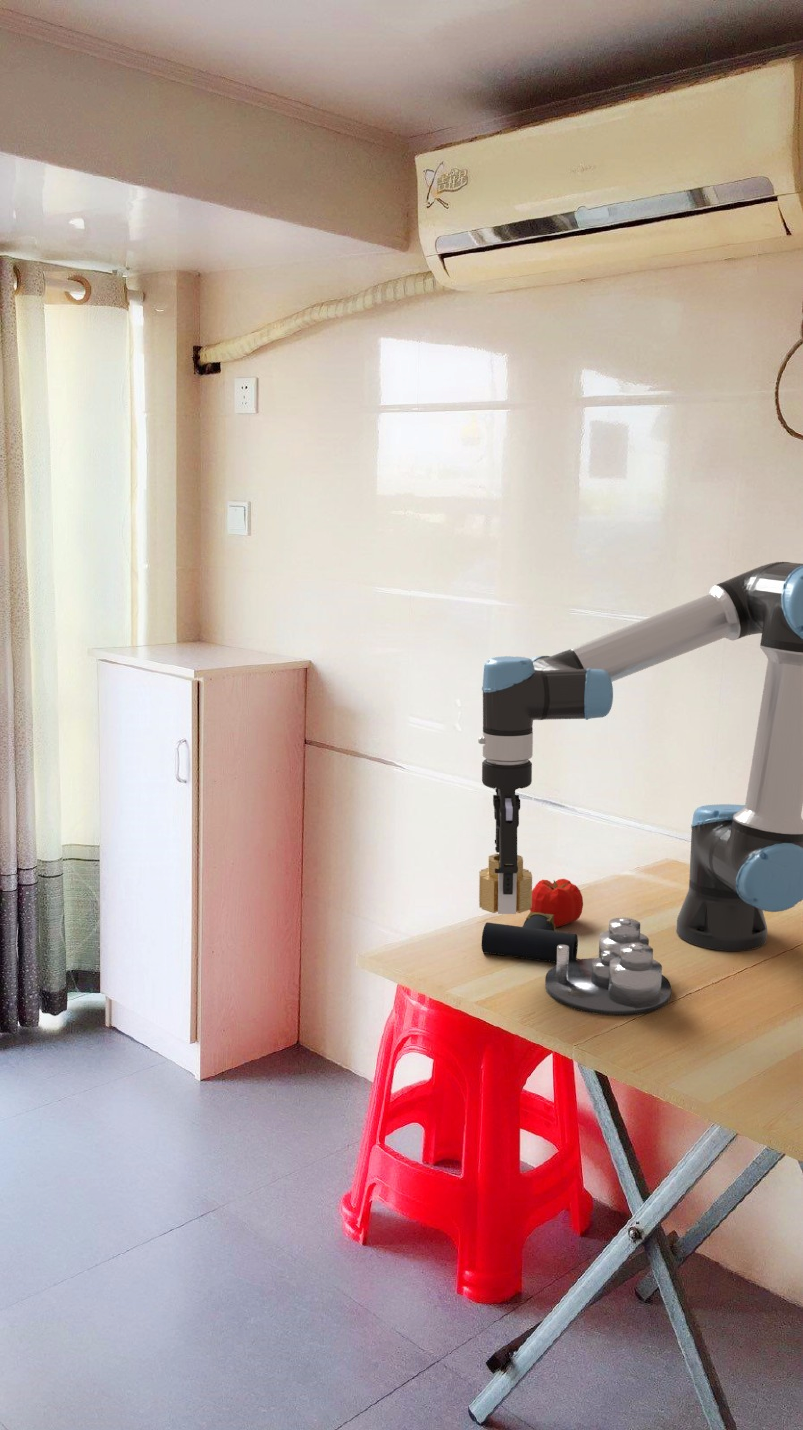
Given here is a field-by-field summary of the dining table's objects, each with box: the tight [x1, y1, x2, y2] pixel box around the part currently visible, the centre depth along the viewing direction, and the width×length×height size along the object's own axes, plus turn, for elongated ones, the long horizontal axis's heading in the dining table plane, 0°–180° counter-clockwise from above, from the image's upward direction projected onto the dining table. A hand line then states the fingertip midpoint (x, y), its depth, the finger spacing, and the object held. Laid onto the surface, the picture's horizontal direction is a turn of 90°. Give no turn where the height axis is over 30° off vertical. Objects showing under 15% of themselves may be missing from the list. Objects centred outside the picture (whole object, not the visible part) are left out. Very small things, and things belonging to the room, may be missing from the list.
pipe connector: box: [481, 911, 579, 964], centre depth 194 cm, size 12×5×15 cm
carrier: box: [544, 917, 672, 1017], centre depth 178 cm, size 19×19×9 cm
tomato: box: [529, 878, 584, 928], centre depth 207 cm, size 9×9×8 cm
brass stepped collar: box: [478, 853, 533, 914], centre depth 179 cm, size 8×8×8 cm
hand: (505, 903), depth 180 cm, fingers closed on brass stepped collar, 8 cm apart
